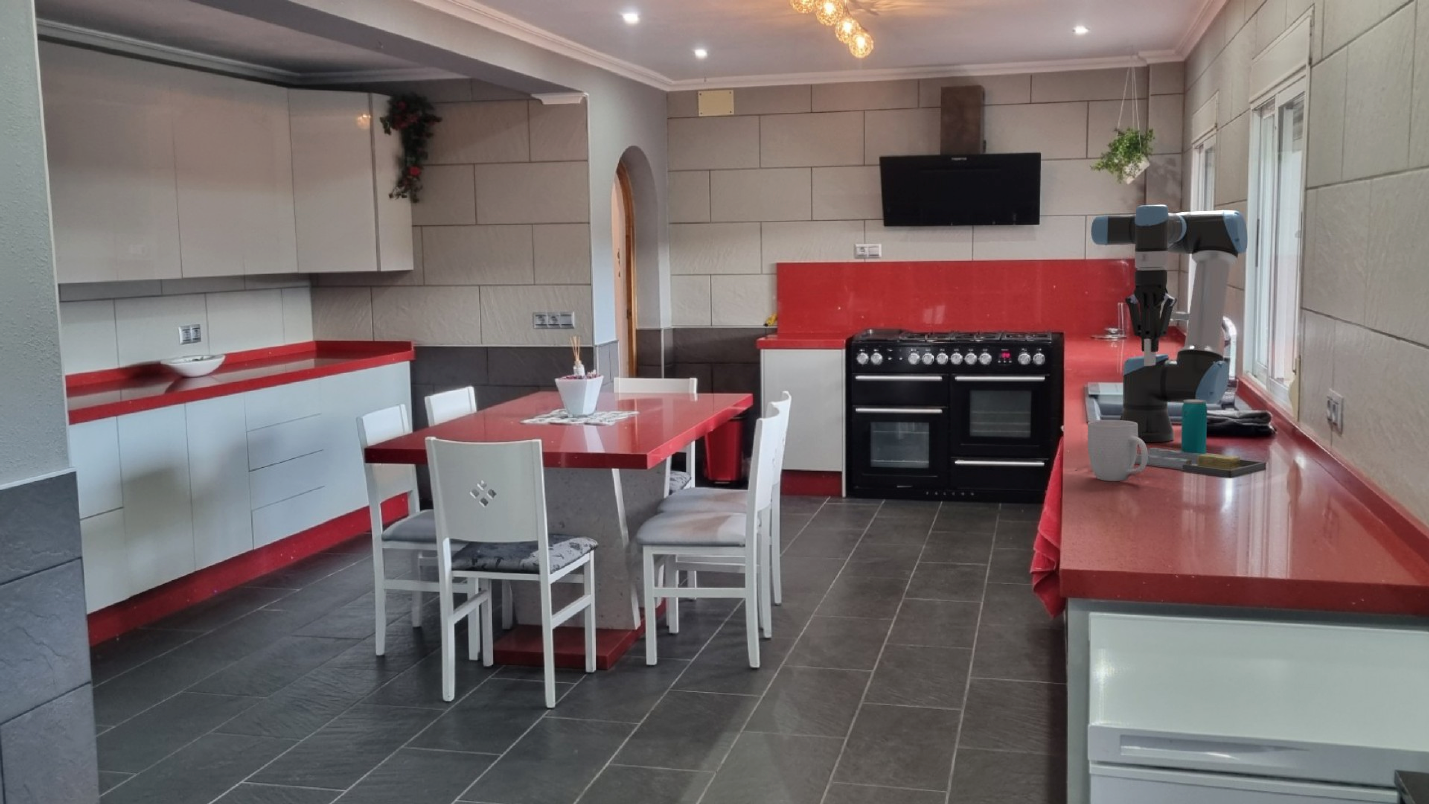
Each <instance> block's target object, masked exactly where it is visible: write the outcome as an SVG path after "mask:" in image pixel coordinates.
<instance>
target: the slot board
mask: <svg viewBox="0 0 1429 804" xmlns="http://www.w3.org/2000/svg"><path fill="white" fill-rule="evenodd" d="M1147 451H1148V461H1147V464H1146V466H1151V467H1161V468H1168V469H1176V470H1181V471H1183V464H1187V465H1195V466H1197V465H1198V455H1201V453H1193V452H1185V451H1181V450H1176V449H1174V450H1173V449H1166V448H1159V447H1151V448H1147ZM1141 459H1142V455H1141V452H1140V453H1138V452H1137V455H1136V461H1135V464H1138V465H1140V464H1141Z"/></svg>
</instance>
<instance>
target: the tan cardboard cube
mask: <svg viewBox="0 0 1429 804" xmlns="http://www.w3.org/2000/svg"><path fill="white" fill-rule="evenodd" d="M1221 455H1222V456H1217V457H1214V468H1217V469H1225V470H1233V469H1237V468H1241V466H1240V459H1241V458H1240V457H1241V456H1235V455H1226V454H1221Z"/></svg>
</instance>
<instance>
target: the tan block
mask: <svg viewBox="0 0 1429 804" xmlns="http://www.w3.org/2000/svg"><path fill="white" fill-rule="evenodd" d="M1222 455H1223V454H1216V453H1208V452H1206V454H1201V455H1198V465H1197V466H1202V467H1210V468H1214V457H1217V456H1222Z"/></svg>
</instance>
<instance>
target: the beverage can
mask: <svg viewBox="0 0 1429 804" xmlns="http://www.w3.org/2000/svg"><path fill="white" fill-rule="evenodd" d="M1205 402H1206V401H1205V400H1199V399H1188V400H1184V403H1182V406H1181V437H1180V438H1181V442H1180V443H1181V444H1180V446H1181V447H1180V449H1181V450H1180V451H1185V452H1193V453H1201V454H1206V453H1207V431H1208V430H1207V428H1208V427H1207V425H1208V424H1207V422H1208V406H1207V404H1206V403H1205Z"/></svg>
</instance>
